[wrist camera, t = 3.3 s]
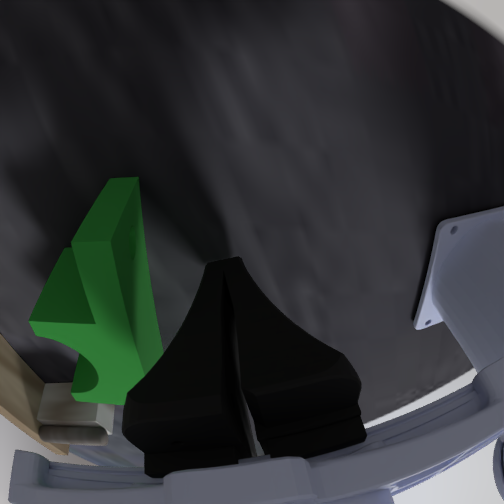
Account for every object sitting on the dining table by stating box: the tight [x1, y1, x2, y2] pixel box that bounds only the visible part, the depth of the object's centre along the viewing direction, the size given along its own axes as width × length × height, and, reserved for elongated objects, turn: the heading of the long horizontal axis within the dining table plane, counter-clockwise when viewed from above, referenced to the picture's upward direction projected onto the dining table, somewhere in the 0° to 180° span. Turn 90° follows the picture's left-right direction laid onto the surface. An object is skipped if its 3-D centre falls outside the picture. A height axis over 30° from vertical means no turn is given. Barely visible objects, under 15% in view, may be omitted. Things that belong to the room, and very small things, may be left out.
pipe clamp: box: [29, 177, 164, 405], centre depth 12 cm, size 11×4×5 cm, turn 175°
